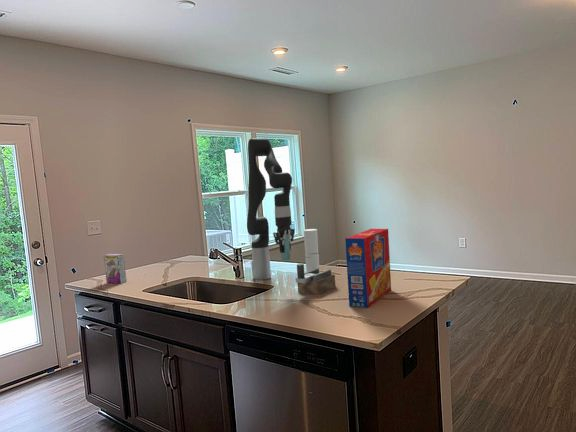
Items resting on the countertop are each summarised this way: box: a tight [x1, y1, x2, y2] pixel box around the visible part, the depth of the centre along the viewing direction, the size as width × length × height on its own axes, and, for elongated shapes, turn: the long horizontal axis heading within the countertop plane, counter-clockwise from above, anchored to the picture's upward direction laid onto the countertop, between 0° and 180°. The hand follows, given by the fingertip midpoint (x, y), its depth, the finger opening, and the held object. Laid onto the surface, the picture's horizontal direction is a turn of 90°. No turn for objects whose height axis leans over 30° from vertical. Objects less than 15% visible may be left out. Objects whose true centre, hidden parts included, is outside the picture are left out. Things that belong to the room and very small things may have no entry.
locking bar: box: [295, 263, 316, 283], centre depth 203 cm, size 5×11×8 cm, turn 142°
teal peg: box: [280, 234, 291, 261], centre depth 209 cm, size 4×4×12 cm
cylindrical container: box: [303, 228, 321, 273], centre depth 237 cm, size 7×7×25 cm
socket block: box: [296, 269, 336, 295], centre depth 210 cm, size 12×14×8 cm
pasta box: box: [344, 228, 392, 309], centre depth 188 cm, size 28×8×28 cm, turn 148°
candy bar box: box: [103, 253, 127, 285], centre depth 255 cm, size 11×5×16 cm, turn 65°
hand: (285, 251), depth 209 cm, fingers closed on teal peg, 4 cm apart
